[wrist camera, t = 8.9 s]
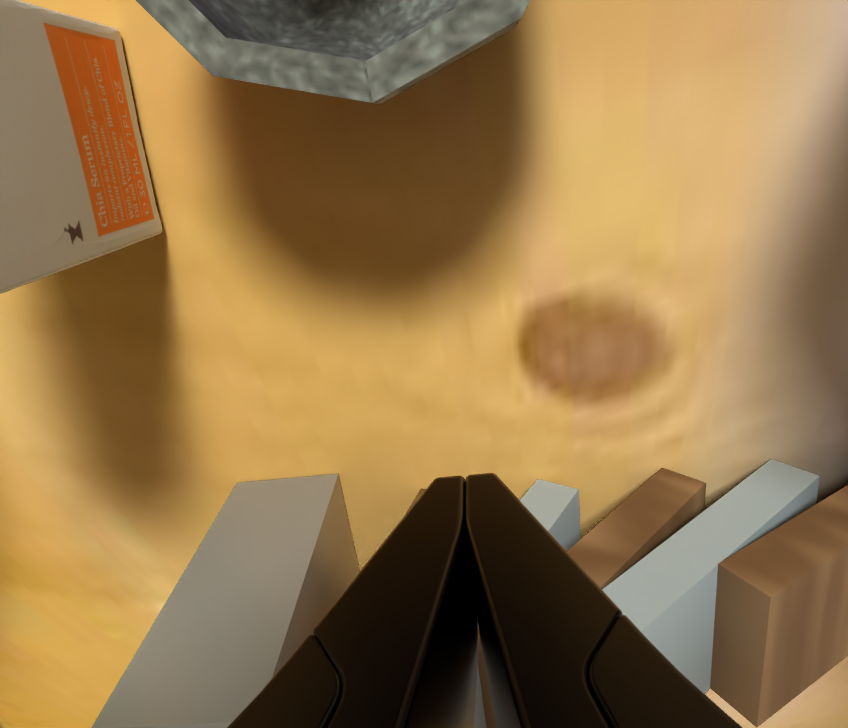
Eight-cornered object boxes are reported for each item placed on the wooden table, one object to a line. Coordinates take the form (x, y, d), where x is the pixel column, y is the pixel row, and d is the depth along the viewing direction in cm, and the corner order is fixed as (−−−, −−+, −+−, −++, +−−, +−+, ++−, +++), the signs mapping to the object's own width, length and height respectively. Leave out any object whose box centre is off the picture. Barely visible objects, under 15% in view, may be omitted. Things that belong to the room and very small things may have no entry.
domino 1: (578, 489, 21) (415, 714, 14) (583, 597, 23) (440, 844, 16) (537, 479, 22) (364, 685, 15) (545, 583, 24) (394, 811, 17)
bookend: (338, 473, 23) (258, 720, 13) (369, 614, 25) (319, 901, 16) (236, 482, 23) (90, 729, 14) (277, 620, 26) (178, 904, 16)
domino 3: (820, 476, 20) (633, 637, 15) (804, 590, 22) (634, 767, 17) (771, 458, 22) (584, 603, 17) (760, 568, 23) (590, 727, 18)
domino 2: (705, 482, 21) (519, 667, 15) (700, 594, 23) (532, 796, 17) (661, 467, 22) (473, 633, 16) (659, 575, 24) (490, 758, 18)
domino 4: (968, 464, 20) (770, 597, 16) (939, 583, 22) (756, 727, 18) (912, 445, 21) (718, 563, 17) (890, 558, 23) (709, 687, 19)
